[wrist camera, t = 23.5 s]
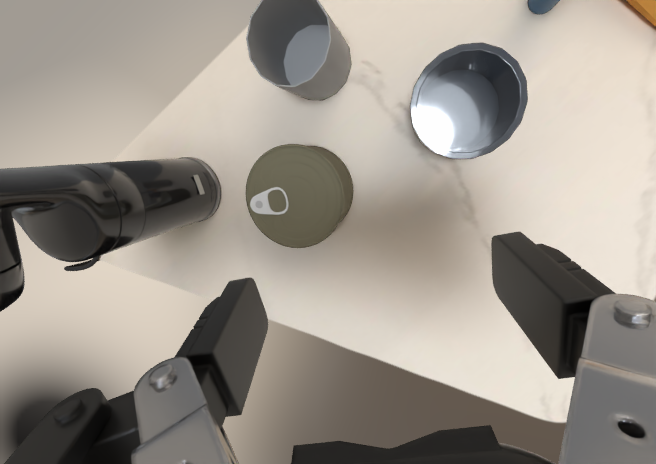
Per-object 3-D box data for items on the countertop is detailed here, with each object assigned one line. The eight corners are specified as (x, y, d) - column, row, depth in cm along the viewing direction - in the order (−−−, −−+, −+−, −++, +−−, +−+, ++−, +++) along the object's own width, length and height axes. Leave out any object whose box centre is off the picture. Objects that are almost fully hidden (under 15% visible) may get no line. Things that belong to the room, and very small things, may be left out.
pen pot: (417, 163, 40) (417, 168, 32) (406, 77, 38) (403, 59, 30) (506, 147, 37) (530, 148, 29) (499, 53, 35) (523, 27, 27)
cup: (316, 8, 39) (284, -35, 29) (365, 58, 39) (349, 30, 29) (272, 68, 42) (230, 46, 32) (318, 114, 42) (290, 106, 32)
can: (362, 226, 44) (353, 240, 37) (280, 239, 47) (259, 254, 41) (344, 134, 42) (331, 133, 35) (260, 155, 45) (234, 156, 39)
